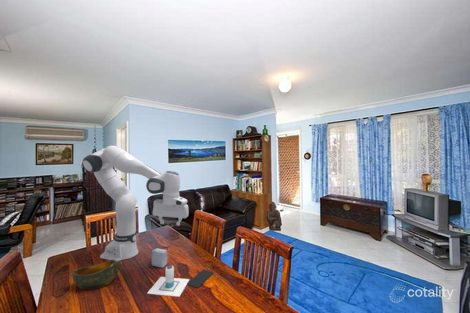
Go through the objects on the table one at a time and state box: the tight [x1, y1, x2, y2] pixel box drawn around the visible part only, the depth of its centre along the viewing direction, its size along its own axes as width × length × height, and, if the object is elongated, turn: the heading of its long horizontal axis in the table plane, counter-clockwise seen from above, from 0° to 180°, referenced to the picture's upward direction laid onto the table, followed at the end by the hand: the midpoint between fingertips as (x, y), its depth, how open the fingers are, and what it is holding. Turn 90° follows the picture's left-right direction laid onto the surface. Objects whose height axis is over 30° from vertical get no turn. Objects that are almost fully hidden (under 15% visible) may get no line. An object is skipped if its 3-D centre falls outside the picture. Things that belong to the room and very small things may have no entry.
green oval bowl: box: [71, 260, 124, 290], centre depth 102 cm, size 13×20×10 cm, turn 79°
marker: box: [164, 264, 175, 288], centre depth 100 cm, size 4×4×10 cm
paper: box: [146, 276, 190, 298], centre depth 100 cm, size 16×13×1 cm
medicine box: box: [151, 247, 168, 269], centre depth 120 cm, size 8×4×9 cm, turn 71°
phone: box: [186, 269, 214, 289], centre depth 107 cm, size 7×1×15 cm
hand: (170, 224), depth 113 cm, fingers open, 8 cm apart
